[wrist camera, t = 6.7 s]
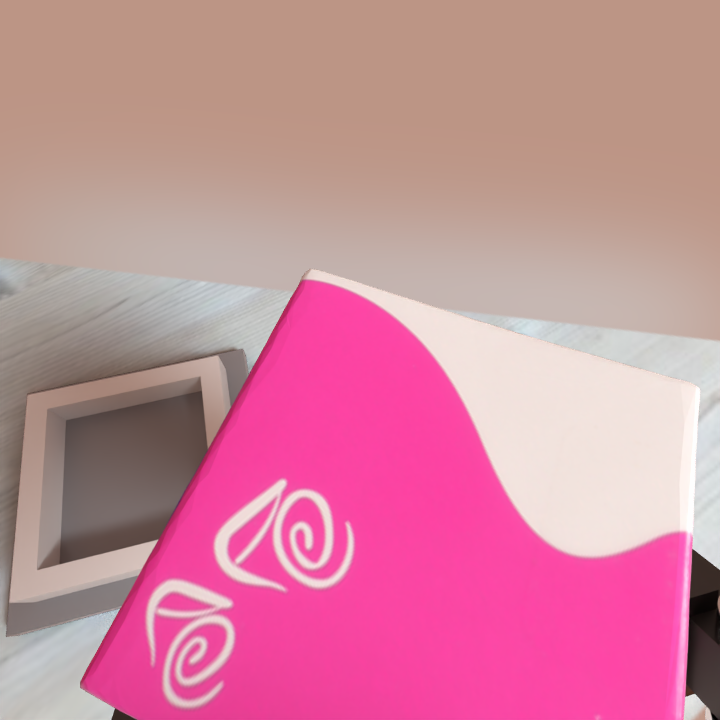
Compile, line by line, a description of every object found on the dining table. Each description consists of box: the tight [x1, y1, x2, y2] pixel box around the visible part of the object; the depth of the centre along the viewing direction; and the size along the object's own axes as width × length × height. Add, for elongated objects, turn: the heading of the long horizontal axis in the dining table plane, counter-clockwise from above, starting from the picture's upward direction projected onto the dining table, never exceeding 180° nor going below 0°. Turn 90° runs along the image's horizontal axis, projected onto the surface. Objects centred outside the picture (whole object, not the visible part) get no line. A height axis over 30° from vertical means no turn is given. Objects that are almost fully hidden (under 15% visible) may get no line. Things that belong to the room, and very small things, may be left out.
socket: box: [6, 349, 249, 637], centre depth 27 cm, size 14×14×3 cm
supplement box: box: [80, 269, 700, 720], centre depth 10 cm, size 6×6×12 cm
